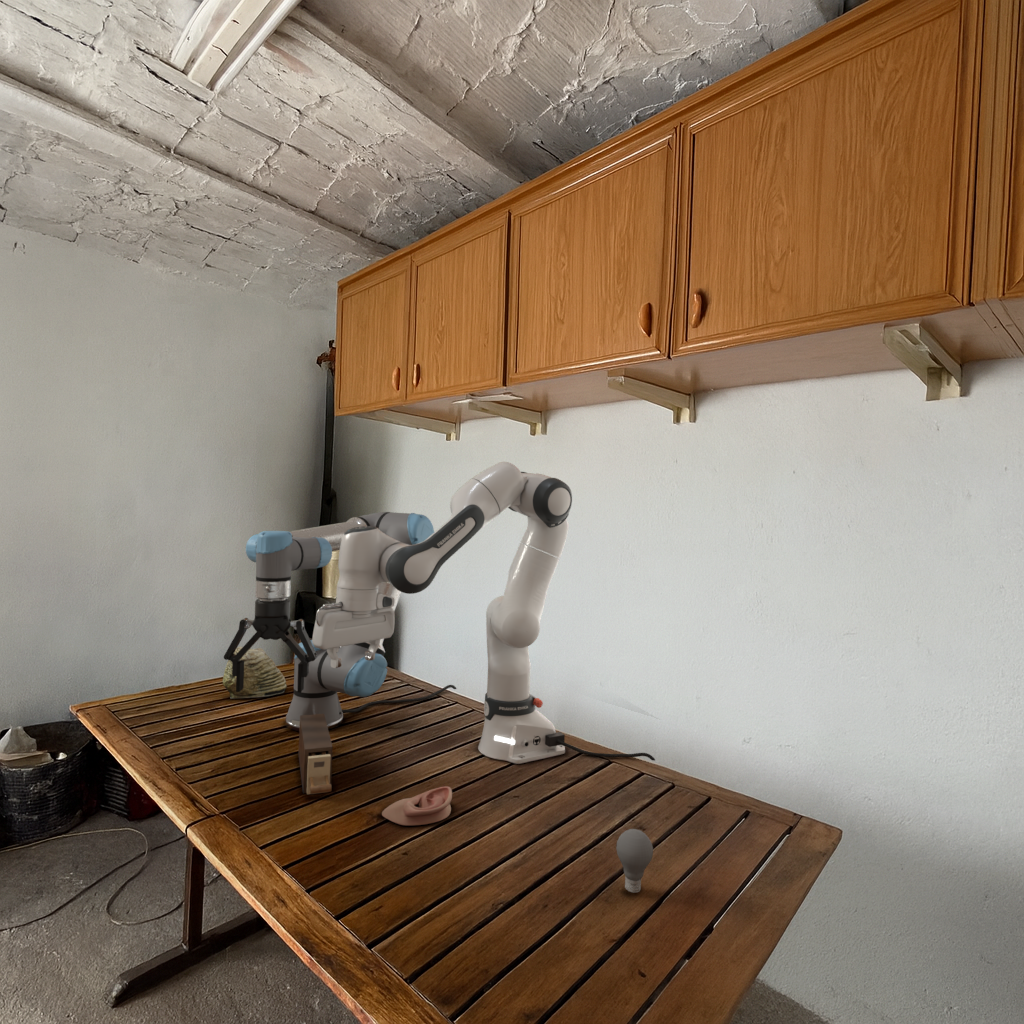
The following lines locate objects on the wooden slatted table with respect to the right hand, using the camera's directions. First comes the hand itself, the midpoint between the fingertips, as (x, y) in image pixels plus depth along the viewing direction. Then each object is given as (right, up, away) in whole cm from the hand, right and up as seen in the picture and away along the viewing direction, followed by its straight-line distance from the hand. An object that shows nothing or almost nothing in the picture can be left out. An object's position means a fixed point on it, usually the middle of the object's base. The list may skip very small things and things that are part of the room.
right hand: (353, 663), depth 138 cm
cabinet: (-11, -27, +8) cm, 30 cm away
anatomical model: (+15, -28, -10) cm, 34 cm away
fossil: (-46, -24, +60) cm, 79 cm away
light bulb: (+55, -30, -33) cm, 71 cm away
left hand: (-21, -8, +7) cm, 23 cm away
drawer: (-9, -26, +2) cm, 27 cm away
